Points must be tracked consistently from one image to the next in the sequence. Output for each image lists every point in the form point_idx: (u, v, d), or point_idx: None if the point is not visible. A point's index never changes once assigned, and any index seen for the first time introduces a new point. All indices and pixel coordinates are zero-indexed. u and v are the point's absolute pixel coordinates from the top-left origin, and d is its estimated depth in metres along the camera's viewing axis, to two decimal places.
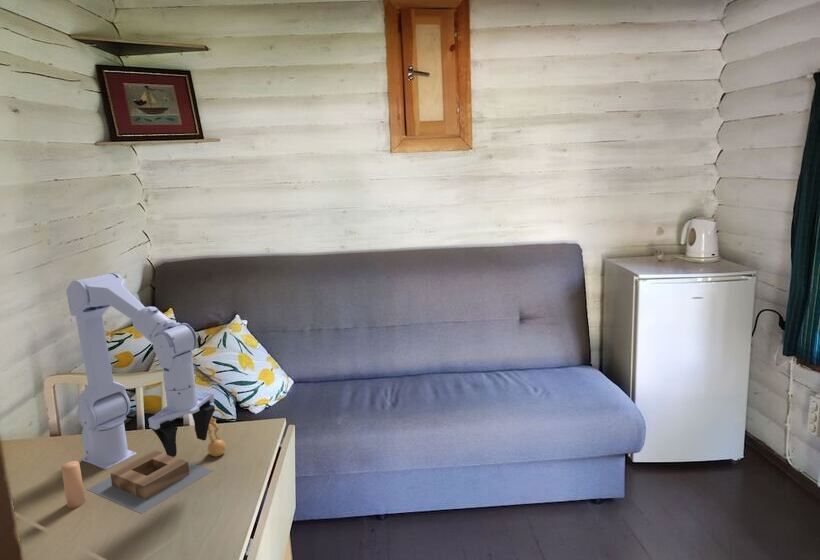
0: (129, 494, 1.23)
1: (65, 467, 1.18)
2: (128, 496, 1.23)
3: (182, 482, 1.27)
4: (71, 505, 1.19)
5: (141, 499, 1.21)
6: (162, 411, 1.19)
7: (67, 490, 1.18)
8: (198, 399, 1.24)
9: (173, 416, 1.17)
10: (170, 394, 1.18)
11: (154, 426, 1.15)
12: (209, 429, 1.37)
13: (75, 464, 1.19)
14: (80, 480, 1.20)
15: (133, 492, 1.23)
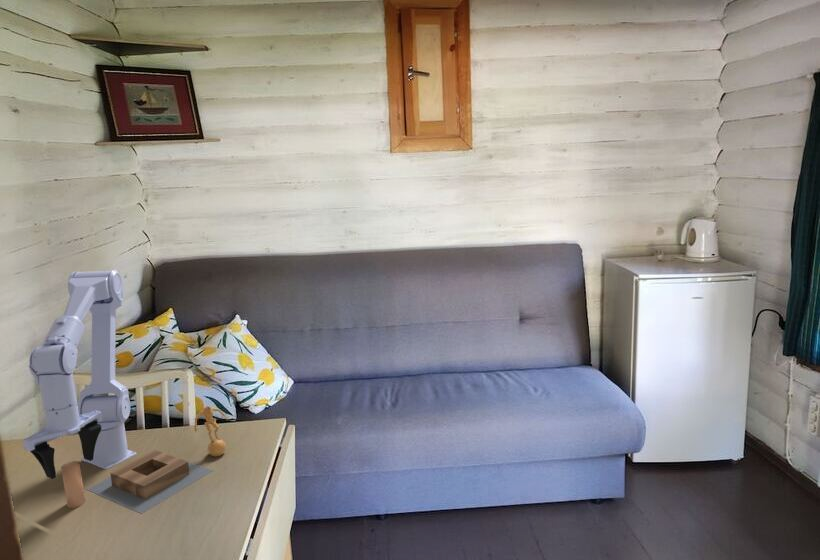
0: (129, 494, 1.23)
1: (65, 467, 1.18)
2: (128, 496, 1.23)
3: (182, 482, 1.27)
4: (71, 505, 1.19)
5: (141, 499, 1.21)
6: (41, 431, 1.15)
7: (67, 490, 1.18)
8: (83, 418, 1.20)
9: (50, 437, 1.13)
10: (47, 414, 1.14)
11: (28, 448, 1.11)
12: (209, 429, 1.37)
13: (75, 464, 1.19)
14: (80, 480, 1.20)
15: (133, 492, 1.23)
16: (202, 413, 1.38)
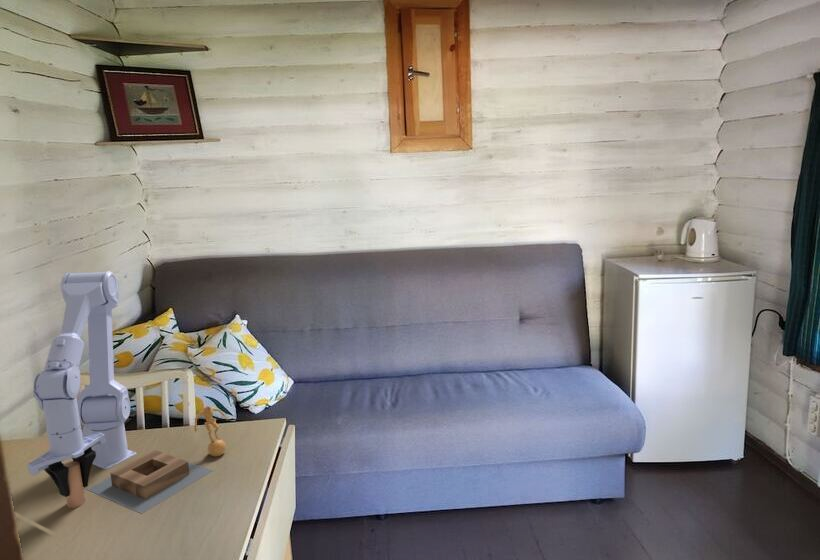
0: (129, 494, 1.23)
1: None
2: (128, 496, 1.23)
3: (182, 482, 1.27)
4: (71, 505, 1.19)
5: (141, 499, 1.21)
6: (45, 455, 1.16)
7: None
8: (87, 441, 1.21)
9: (54, 461, 1.14)
10: (51, 438, 1.15)
11: (32, 472, 1.12)
12: (209, 429, 1.37)
13: (75, 464, 1.19)
14: (80, 480, 1.20)
15: (133, 492, 1.23)
16: (202, 413, 1.38)
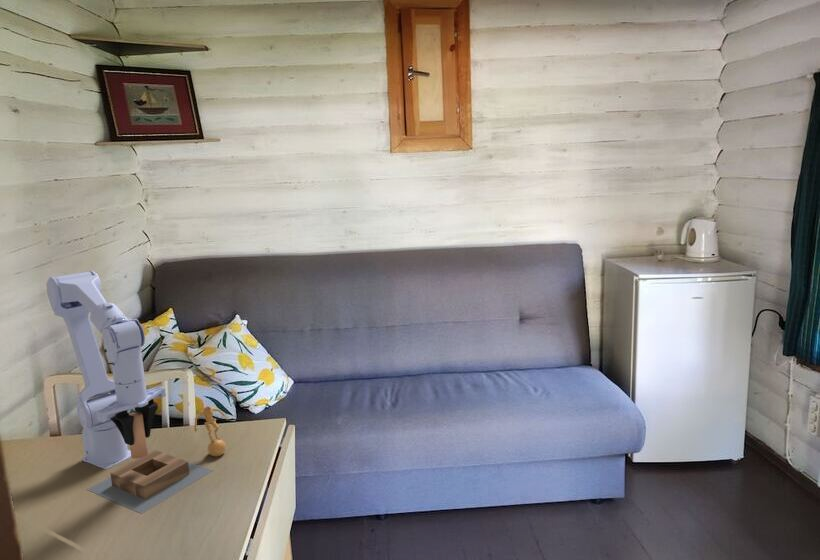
0: (129, 494, 1.23)
1: None
2: (128, 496, 1.23)
3: (182, 482, 1.27)
4: (135, 454, 1.25)
5: (141, 499, 1.21)
6: (111, 404, 1.22)
7: None
8: (149, 393, 1.27)
9: (121, 409, 1.20)
10: (118, 388, 1.20)
11: (101, 419, 1.18)
12: (209, 429, 1.37)
13: (139, 414, 1.25)
14: (143, 430, 1.25)
15: (133, 492, 1.23)
16: (202, 413, 1.38)
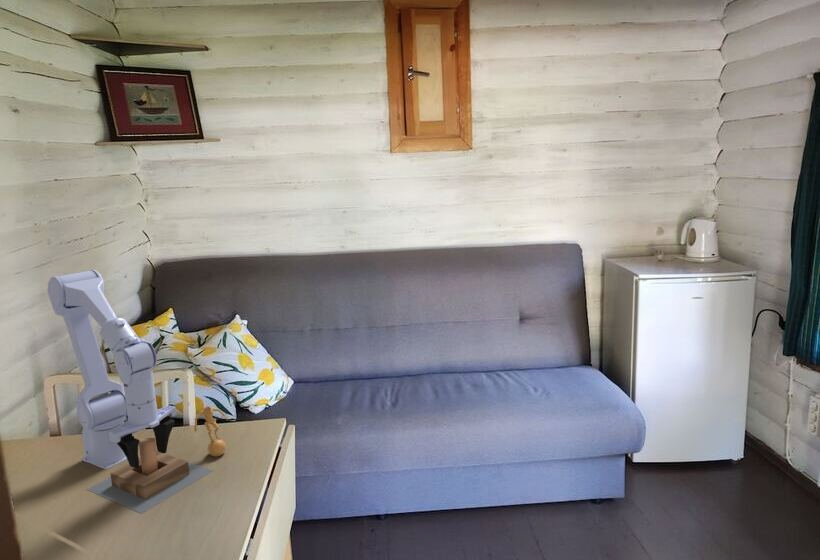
0: (129, 494, 1.23)
1: (143, 443, 1.26)
2: (128, 496, 1.23)
3: (182, 482, 1.27)
4: None
5: (141, 499, 1.21)
6: (123, 425, 1.24)
7: (144, 464, 1.26)
8: (159, 413, 1.29)
9: (133, 430, 1.22)
10: (130, 409, 1.22)
11: (114, 440, 1.20)
12: (209, 429, 1.37)
13: (151, 440, 1.27)
14: (156, 455, 1.28)
15: (133, 492, 1.23)
16: (202, 413, 1.38)
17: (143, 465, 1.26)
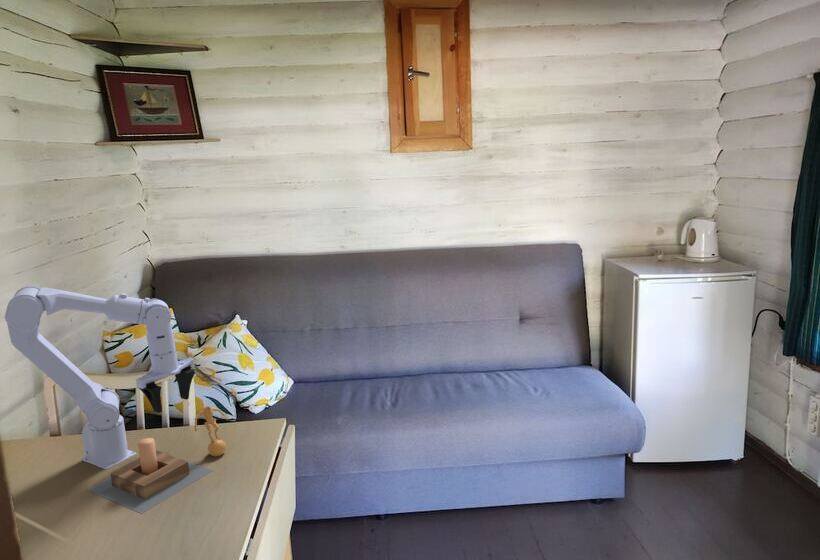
0: (129, 494, 1.23)
1: (142, 443, 1.26)
2: (128, 496, 1.23)
3: (182, 482, 1.27)
4: None
5: (141, 499, 1.21)
6: (148, 374, 1.38)
7: (144, 465, 1.26)
8: (180, 364, 1.44)
9: (157, 377, 1.36)
10: (154, 359, 1.37)
11: (141, 386, 1.34)
12: (209, 429, 1.37)
13: (151, 440, 1.27)
14: (155, 455, 1.28)
15: (133, 492, 1.23)
16: (202, 413, 1.38)
17: (143, 465, 1.26)
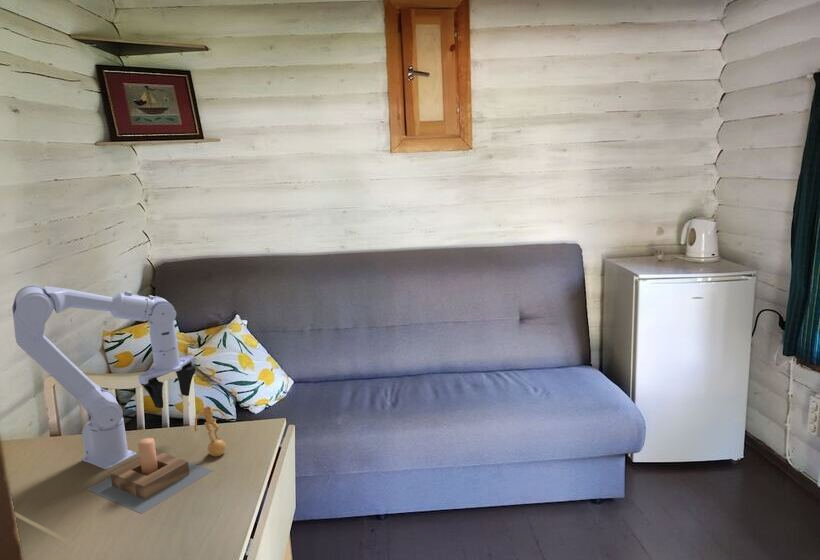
0: (129, 494, 1.23)
1: (142, 443, 1.26)
2: (128, 496, 1.23)
3: (182, 482, 1.27)
4: None
5: (141, 499, 1.21)
6: (150, 370, 1.41)
7: (144, 465, 1.26)
8: (181, 361, 1.46)
9: (159, 373, 1.39)
10: (156, 355, 1.39)
11: (143, 381, 1.37)
12: (209, 429, 1.37)
13: (151, 440, 1.27)
14: (155, 455, 1.28)
15: (133, 492, 1.23)
16: (202, 413, 1.38)
17: (143, 465, 1.26)
